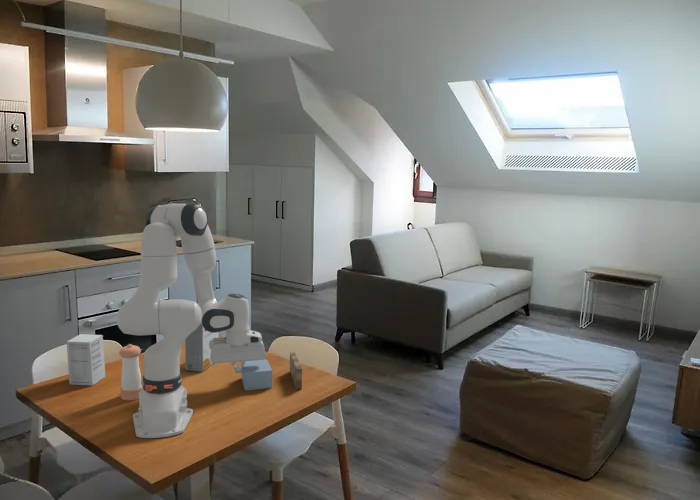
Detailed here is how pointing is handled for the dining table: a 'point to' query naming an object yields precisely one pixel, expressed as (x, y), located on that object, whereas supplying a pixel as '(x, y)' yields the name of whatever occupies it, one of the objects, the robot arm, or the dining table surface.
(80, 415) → the dining table surface
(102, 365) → the supplement box
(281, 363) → the dining table surface
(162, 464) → the dining table surface
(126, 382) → the pepper shaker
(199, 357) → the hard drive box
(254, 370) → the slate block
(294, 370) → the board
